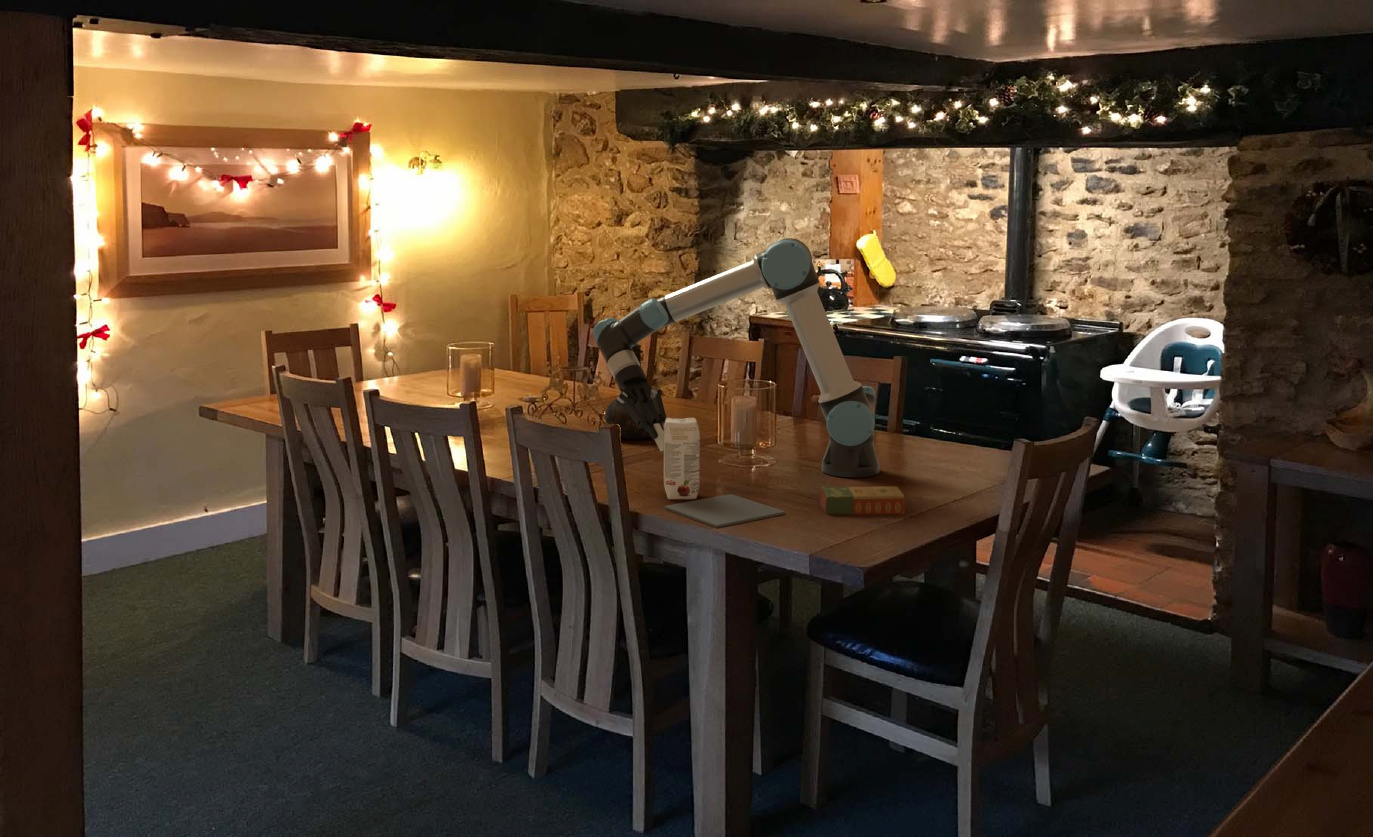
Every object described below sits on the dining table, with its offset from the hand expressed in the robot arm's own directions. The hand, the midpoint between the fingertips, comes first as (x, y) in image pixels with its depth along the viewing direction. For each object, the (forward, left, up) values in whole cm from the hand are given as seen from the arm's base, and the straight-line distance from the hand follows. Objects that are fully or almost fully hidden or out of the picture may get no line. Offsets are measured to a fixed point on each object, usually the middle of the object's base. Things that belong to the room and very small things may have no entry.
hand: (665, 448), depth 294 cm
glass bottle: (+36, -57, -11) cm, 69 cm away
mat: (-20, +11, -11) cm, 26 cm away
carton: (-49, -4, -12) cm, 50 cm away
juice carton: (-6, +3, -11) cm, 13 cm away
